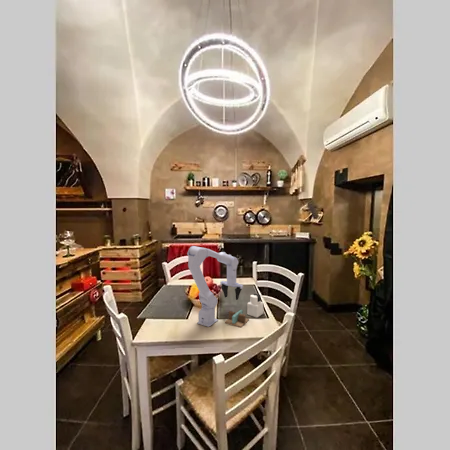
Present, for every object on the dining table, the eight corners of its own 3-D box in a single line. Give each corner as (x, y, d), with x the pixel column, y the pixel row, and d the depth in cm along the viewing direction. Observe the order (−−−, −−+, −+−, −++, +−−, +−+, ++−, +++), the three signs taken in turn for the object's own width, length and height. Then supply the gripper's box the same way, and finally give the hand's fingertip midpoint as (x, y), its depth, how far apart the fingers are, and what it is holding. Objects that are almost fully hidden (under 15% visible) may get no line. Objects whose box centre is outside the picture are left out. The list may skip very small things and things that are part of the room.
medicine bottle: (253, 310, 159) (253, 291, 158) (263, 313, 154) (263, 294, 153) (247, 314, 153) (247, 295, 152) (257, 317, 149) (257, 297, 148)
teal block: (234, 323, 140) (234, 316, 140) (232, 323, 141) (232, 316, 140) (242, 316, 149) (242, 310, 148) (240, 316, 149) (240, 309, 149)
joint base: (241, 327, 137) (241, 318, 137) (224, 323, 142) (224, 314, 142) (248, 320, 146) (248, 312, 146) (233, 316, 151) (233, 308, 151)
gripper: (245, 276, 153) (245, 298, 154) (224, 272, 160) (224, 293, 161) (240, 279, 147) (239, 302, 148) (218, 275, 154) (218, 297, 155)
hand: (231, 298), depth 154 cm, fingers open, 7 cm apart
